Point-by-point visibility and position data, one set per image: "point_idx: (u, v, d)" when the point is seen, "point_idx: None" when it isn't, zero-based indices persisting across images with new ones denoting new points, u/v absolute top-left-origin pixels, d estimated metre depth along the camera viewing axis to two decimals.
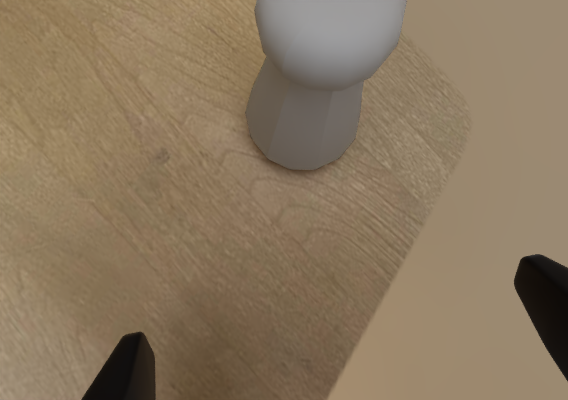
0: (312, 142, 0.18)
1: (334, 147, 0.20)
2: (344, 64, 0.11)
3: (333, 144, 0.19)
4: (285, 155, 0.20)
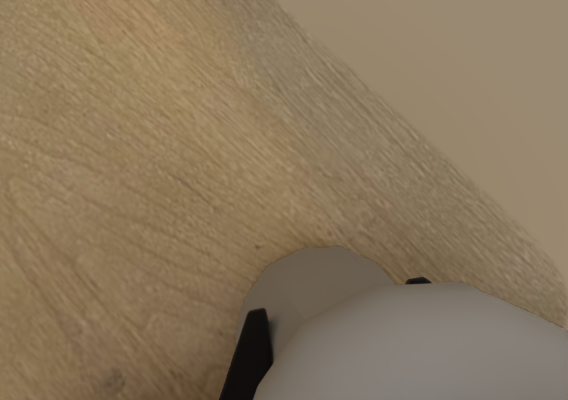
0: None
1: None
2: None
3: None
4: None
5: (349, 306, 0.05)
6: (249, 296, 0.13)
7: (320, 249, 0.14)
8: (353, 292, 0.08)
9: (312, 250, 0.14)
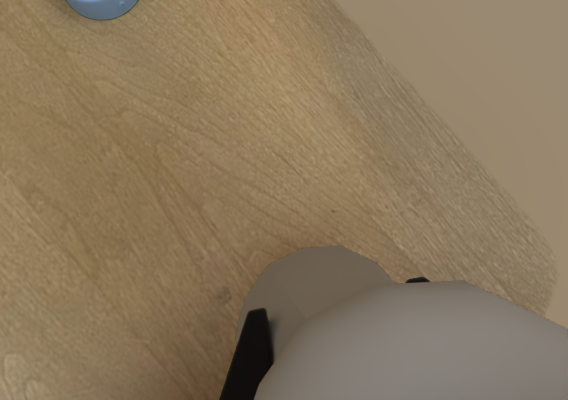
0: None
1: None
2: None
3: None
4: None
5: (350, 304, 0.05)
6: (249, 295, 0.13)
7: (320, 249, 0.14)
8: (354, 291, 0.08)
9: (312, 250, 0.14)
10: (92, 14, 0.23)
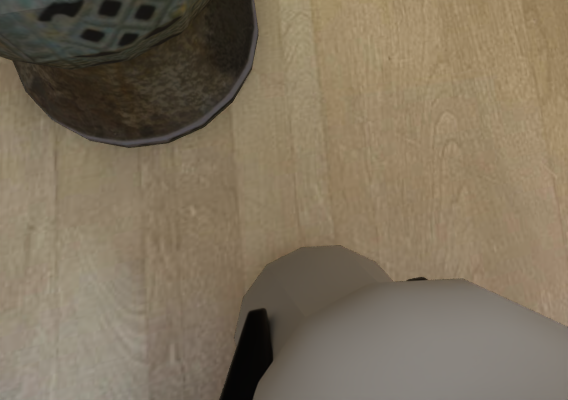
0: None
1: None
2: None
3: None
4: None
5: (350, 301, 0.05)
6: (249, 295, 0.13)
7: (320, 248, 0.14)
8: (353, 290, 0.08)
9: (312, 249, 0.14)
10: None
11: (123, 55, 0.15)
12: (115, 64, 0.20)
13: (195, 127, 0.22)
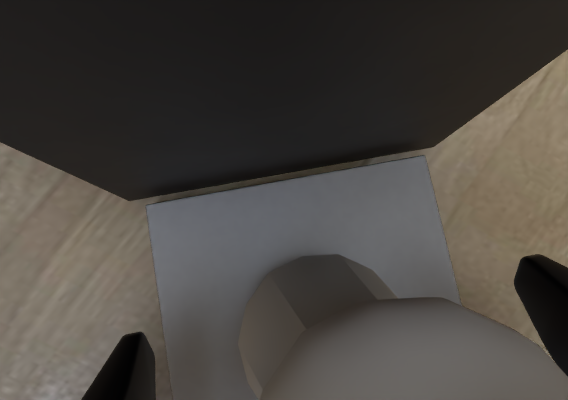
0: None
1: None
2: None
3: None
4: None
5: (343, 319, 0.05)
6: (251, 302, 0.14)
7: (319, 257, 0.14)
8: (349, 301, 0.09)
9: (311, 258, 0.14)
10: None
11: None
12: None
13: None
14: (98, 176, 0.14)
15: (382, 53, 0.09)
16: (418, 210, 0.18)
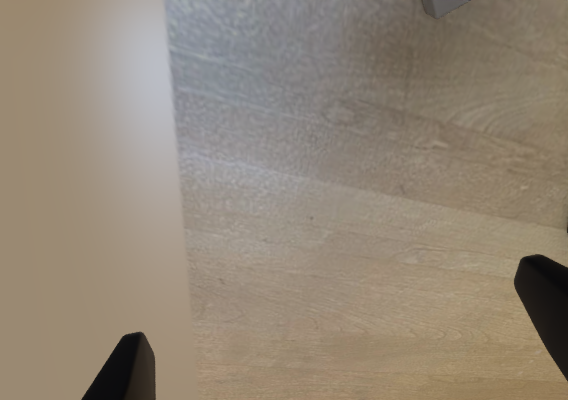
0: None
1: None
2: None
3: None
4: None
5: None
6: None
7: None
8: None
9: None
10: None
11: None
12: None
13: None
14: None
15: None
16: None
